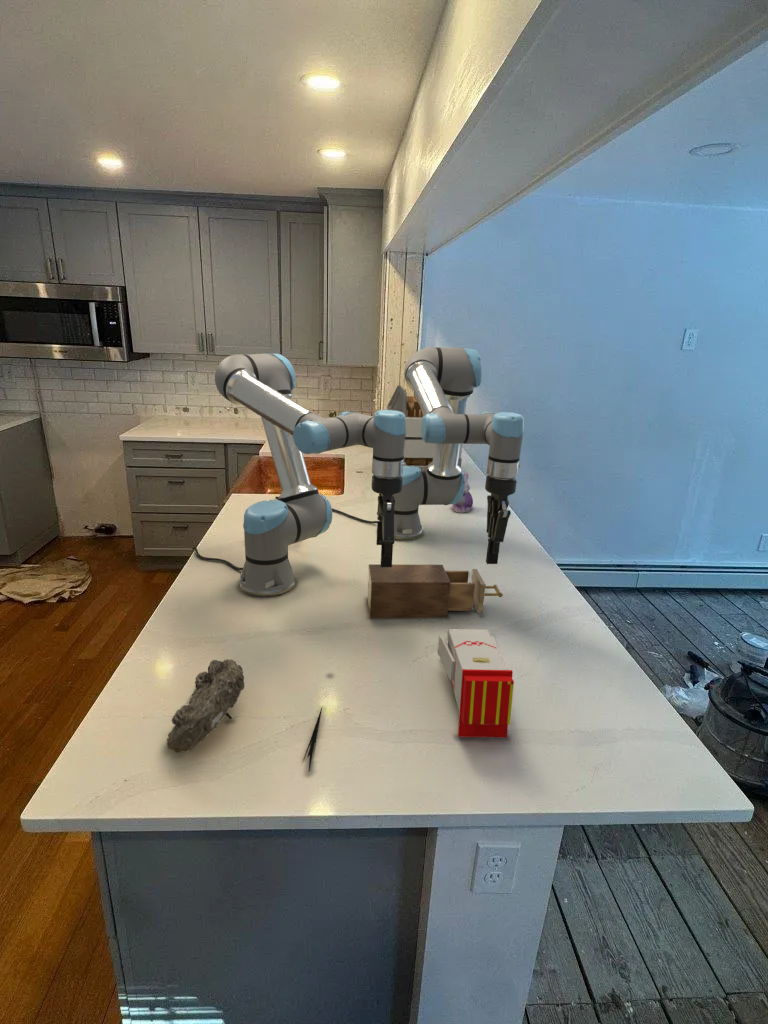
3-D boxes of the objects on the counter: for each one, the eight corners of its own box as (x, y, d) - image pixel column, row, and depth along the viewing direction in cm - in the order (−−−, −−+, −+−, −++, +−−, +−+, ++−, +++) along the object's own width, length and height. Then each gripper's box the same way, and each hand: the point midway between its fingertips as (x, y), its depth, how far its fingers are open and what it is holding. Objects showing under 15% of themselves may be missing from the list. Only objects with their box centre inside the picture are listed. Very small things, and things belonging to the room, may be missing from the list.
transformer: (382, 463, 289) (386, 382, 275) (445, 464, 293) (451, 384, 279) (390, 482, 257) (394, 392, 243) (460, 483, 261) (468, 394, 247)
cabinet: (439, 598, 157) (442, 564, 153) (447, 617, 147) (450, 582, 143) (367, 598, 155) (368, 564, 151) (370, 618, 145) (371, 582, 141)
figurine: (459, 514, 221) (463, 477, 216) (445, 506, 229) (448, 470, 224) (479, 511, 225) (483, 475, 220) (464, 503, 234) (467, 468, 228)
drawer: (493, 596, 157) (497, 568, 154) (503, 613, 149) (507, 584, 146) (406, 596, 155) (408, 568, 152) (410, 613, 146) (412, 584, 143)
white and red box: (488, 613, 130) (523, 677, 101) (484, 667, 133) (517, 744, 104) (435, 612, 130) (455, 676, 101) (432, 666, 133) (451, 743, 103)
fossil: (192, 660, 117) (244, 628, 112) (224, 691, 120) (276, 661, 115) (142, 746, 98) (202, 712, 93) (182, 779, 101) (242, 748, 96)
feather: (331, 679, 122) (336, 673, 122) (307, 777, 96) (313, 769, 95) (324, 675, 122) (329, 669, 121) (298, 772, 95) (304, 764, 95)
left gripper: (409, 491, 126) (404, 576, 134) (397, 462, 150) (393, 536, 157) (375, 490, 126) (372, 576, 133) (369, 461, 149) (366, 536, 156)
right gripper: (524, 484, 135) (512, 573, 143) (508, 469, 147) (498, 552, 155) (494, 483, 134) (483, 573, 142) (480, 468, 146) (471, 552, 154)
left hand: (383, 555), depth 145 cm, fingers open, 13 cm apart
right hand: (491, 562), depth 148 cm, fingers closed
